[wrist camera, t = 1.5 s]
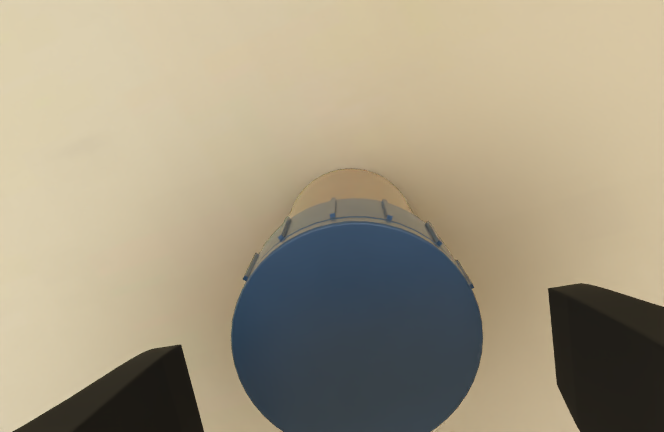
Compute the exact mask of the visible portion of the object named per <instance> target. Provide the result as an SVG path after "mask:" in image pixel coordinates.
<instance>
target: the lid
mask: <svg viewBox="0 0 664 432" xmlns="http://www.w3.org/2000/svg"><path fill="white" fill-rule="evenodd" d="M243 280H245V281H246V282H245V284H244V287H243V289H242V291H241V294H240V296H239V298H238V301H237V303H236V307H235V311H234V315H233V319H232V329H231V346H232V354H233V360H234V365H235V368H236V371H237V374H238V377H239V379H240V381H241V383H242V385H243V387H244V389H245V391H246V393H247V395H248V396H249V398H250V399H251V401H252V402H253V404H254V405H255V406H256V407H257V409H258V410H259V411H260V412H261V413H262V414H263V415H264V417H266V418H267V419H268V420H269V421H270V422H271V423H272V424H274V425H275V426H276V427H277V428H279V429H280V430H282V431H283V432H431V431H432V430H434V429H435V428H437V427H438V426H439V425H440V424H441V423H443V422H444V421H445V420H446V419H447V418H448V417H449V416H450V415H451V414H452V413H453V412H454V411H455V410H456V409H457V407H458V406H459V405H460V403H461V402H462V400H463V399H464V398H465V396H466V395H467V393H468V391H469V389H470V387H471V385H472V383H473V381H474V379H475V376H476V373H477V370H478V368H479V364H480V359H481V354H482V344H483V330H482V320H481V315H480V311H479V306H478V304H477V301H476V298H475V296H474V293H473V291H472V288H474V286H473V284H472V282H471V281H470V279H469V277H468V276H467V274H466V273H465V271H464V269H463V268H462V266H461V265H460V263H459V261H458V260H454V258H453V257H452V255H451V253H450V252H449V250H448V248H447V247H446V245H445V244H444V243H443V241H442V240H441V239H440V237H439V236H438V234H437V233H436V231H435V229H434V228H433V226H432V224H431V223H430V222H429V221H427V222H426V223H425V222H423V221H422V220H421V219H419V218H418V217H417V216H415V215H413V214H412V213H410V212H408V211H406V210H405V209H402V208H400V207H397V206H395V205H393V204H390V203H388V202H387V200H386V199H382V201H378V200H372V199H365V198H346V199H337V200H336V197H332V198H331V201H328V202H324V203H320V204H317V205H315V206H312V207H310V208H307V209H305V210H304V211H302V212H300V213H298V214H296V215H295V216H293V217H292V218H290V217H289V216H288V217H287V218H285V220H284V223H283V225H281V226H280V227H279V228H278V229H277V230H276V231H275V232H274V233H273V234H272V236H271V237H270V238H269V240H268V241H267V242H266V243H265V245H264V246H263V248H262V250H261V252H260V253H259V254H258V253H255V255H254V257H253V259H252V261H251V263H250V265H249V267H248V269H247V271H246V274H245V276H244V278H243Z"/></svg>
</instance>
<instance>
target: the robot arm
mask: <svg viewBox="0 0 664 432" xmlns="http://www.w3.org/2000/svg"><path fill="white" fill-rule="evenodd" d="M548 292H549V303H550V314H551V325H552V335H553V346H554V357H555V368H556V379H557V385H558V388H559V390H560V392H561V394H562V396H563V398H564V400H565V403H566V405H567V407H568V409H569V411H570V413H571V415H572V417H573V419H574V421H575V423H576V425H577V427H578V429H579V430H580V432H664V307H662V306H659V305H655V304H652V303H649V302H646V301H643V300H640V299H636V298H633V297H630V296H627V295H624V294H621V293H618V292H614V291H611V290H608V289H604V288H601V287H597V286H593V285H589V284H582V283H580V284H574V285H567V286H561V287H554V288H548ZM13 432H204V430H203V426H202V422H201V418H200V415H199V411H198V407H197V403H196V399H195V396H194V392H193V388H192V384H191V380H190V377H189V373H188V369H187V365H186V362H185V358H184V354H183V350H182V346H181V345H175V346H168V347H162V348H155V349H151V350H148V351H146V352H143V353H141V354H139V355H138V356H136V357H134V358H132V359H130V360H129V361H127V362H125V363H124V364H122V365H120V366H119V367H117V368H116V369H114V370H113V371H111V372H109V373H108V374H106V375H105V376H103V377H102V378H100V379H98V380H97V381H95V382H94V383H92V384H91V385H89V386H87V387H86V388H84V389H83V390H81V391H80V392H78V393H77V394H75V395H73V396H72V397H70V398H69V399H67V400H65V401H64V402H62V403H60V404H59V405H57V406H55V407H54V408H52V409H50V410H49V411H47V412H45V413H44V414H42V415H40V416H39V417H37V418H35V419H34V420H32V421H30V422H29V423H27V424H25V425H24V426H22V427H20V428H18V429H17V430H15V431H13Z"/></svg>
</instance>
